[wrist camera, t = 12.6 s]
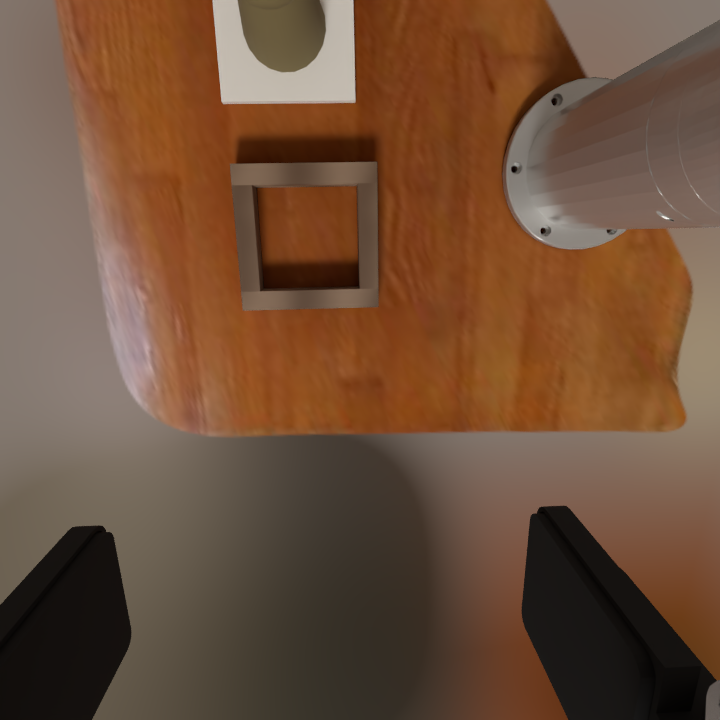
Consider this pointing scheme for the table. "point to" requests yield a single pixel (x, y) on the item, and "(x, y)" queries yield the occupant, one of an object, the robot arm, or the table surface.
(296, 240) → the table surface
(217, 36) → the coaster
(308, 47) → the cork
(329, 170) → the holder
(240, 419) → the table surface
